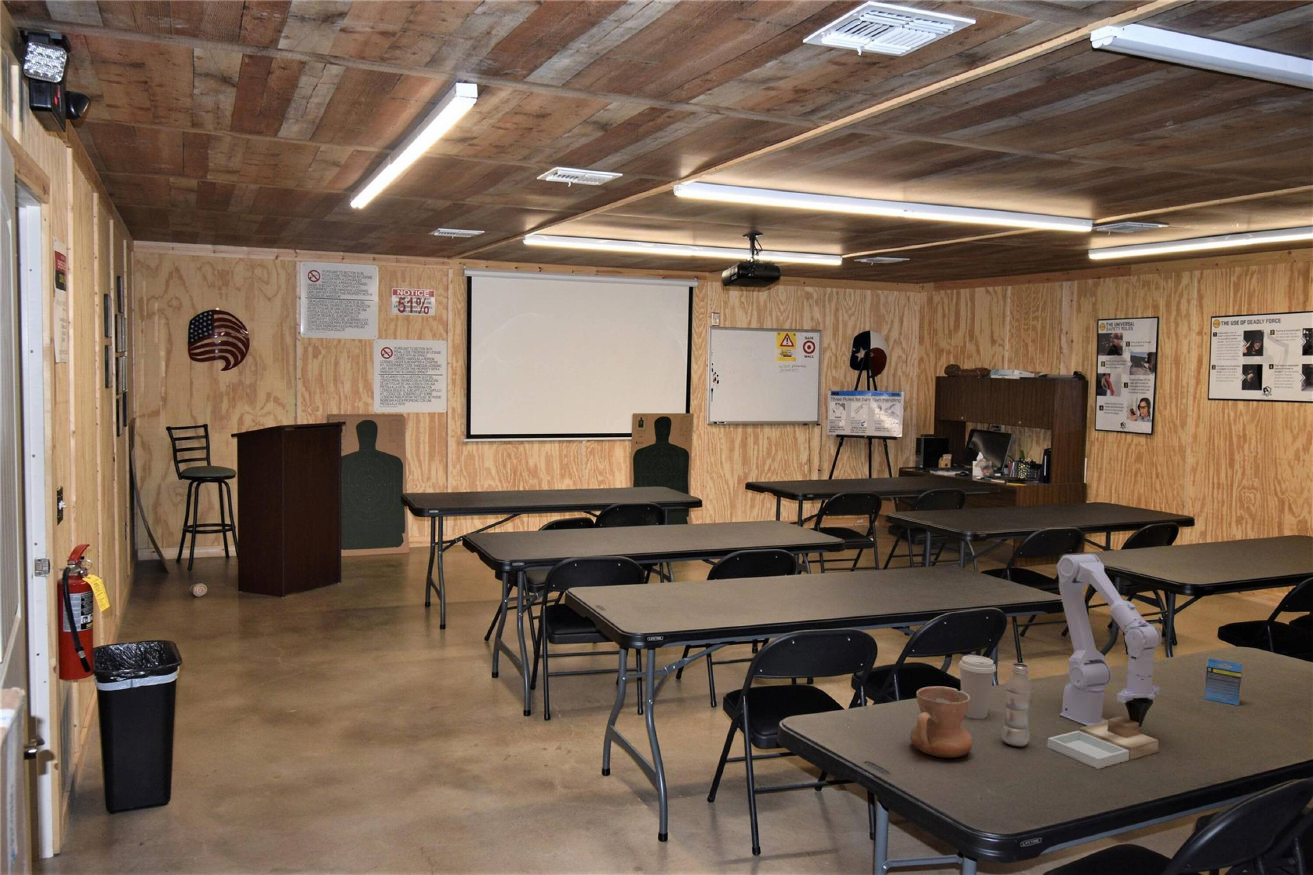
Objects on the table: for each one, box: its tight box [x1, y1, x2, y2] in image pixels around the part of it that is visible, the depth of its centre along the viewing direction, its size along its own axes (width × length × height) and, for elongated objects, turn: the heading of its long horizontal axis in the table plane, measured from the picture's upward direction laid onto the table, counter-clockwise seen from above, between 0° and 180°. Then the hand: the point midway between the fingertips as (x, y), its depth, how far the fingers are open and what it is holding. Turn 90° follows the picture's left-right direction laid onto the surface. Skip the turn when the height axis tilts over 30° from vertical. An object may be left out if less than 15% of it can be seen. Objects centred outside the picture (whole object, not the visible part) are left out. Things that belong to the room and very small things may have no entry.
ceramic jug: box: [909, 685, 974, 759], centre depth 238 cm, size 18×14×14 cm
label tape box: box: [1203, 657, 1243, 706], centre depth 283 cm, size 9×4×12 cm, turn 58°
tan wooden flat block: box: [1079, 721, 1160, 761], centre depth 246 cm, size 14×11×3 cm
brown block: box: [1107, 715, 1140, 738], centre depth 247 cm, size 5×5×3 cm
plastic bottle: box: [1001, 662, 1033, 747], centre depth 244 cm, size 6×7×20 cm
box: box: [1046, 730, 1129, 770], centre depth 240 cm, size 14×12×2 cm
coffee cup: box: [958, 654, 997, 720], centre depth 264 cm, size 10×10×15 cm
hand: (1135, 725), depth 250 cm, fingers closed
